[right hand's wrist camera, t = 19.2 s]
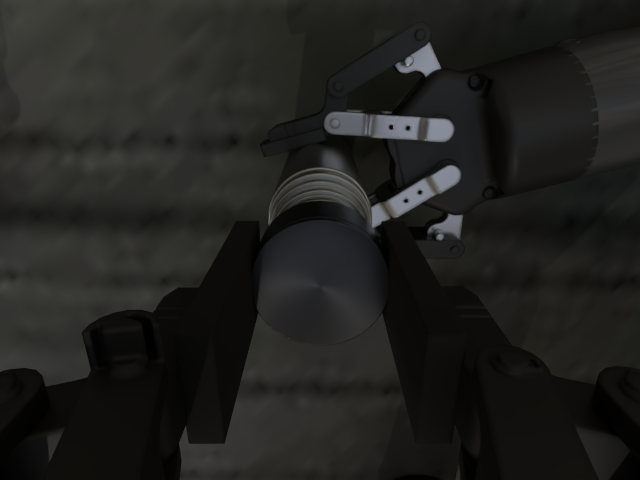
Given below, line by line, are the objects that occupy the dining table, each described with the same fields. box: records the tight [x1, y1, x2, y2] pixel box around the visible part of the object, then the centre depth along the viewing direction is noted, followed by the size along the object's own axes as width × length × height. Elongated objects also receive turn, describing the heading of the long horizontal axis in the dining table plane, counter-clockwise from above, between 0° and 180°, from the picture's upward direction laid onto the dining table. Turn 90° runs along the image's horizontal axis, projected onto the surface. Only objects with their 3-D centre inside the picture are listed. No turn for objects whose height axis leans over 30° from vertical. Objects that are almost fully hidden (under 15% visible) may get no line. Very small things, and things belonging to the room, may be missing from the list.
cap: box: [251, 201, 389, 345], centre depth 13 cm, size 4×4×2 cm
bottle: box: [268, 134, 372, 226], centre depth 22 cm, size 4×4×19 cm
